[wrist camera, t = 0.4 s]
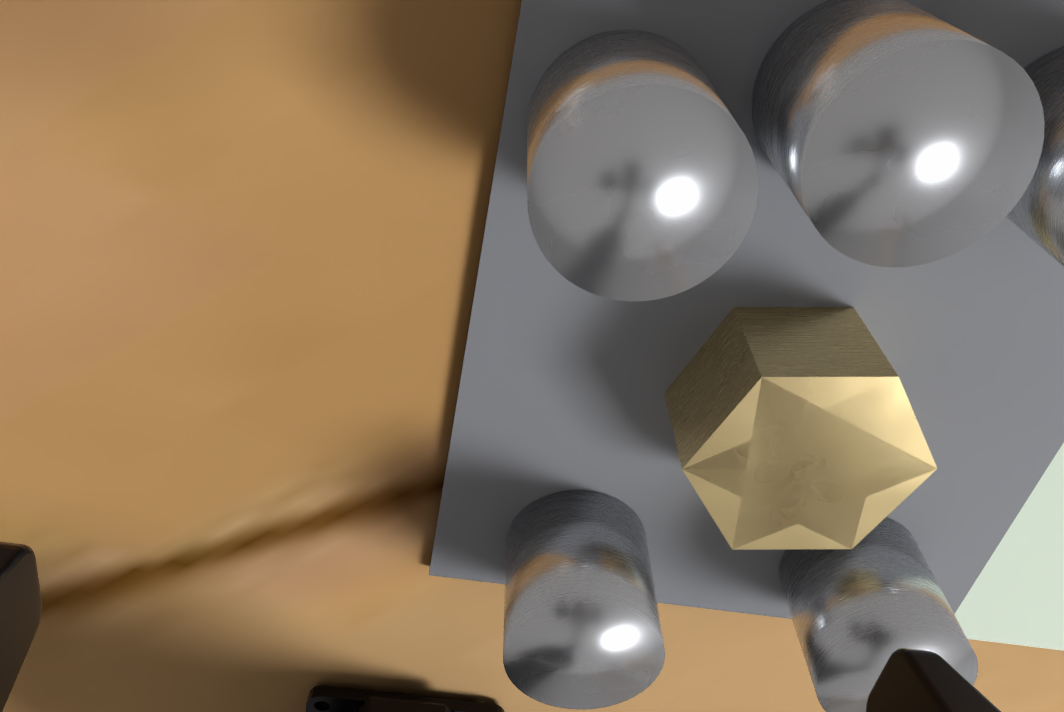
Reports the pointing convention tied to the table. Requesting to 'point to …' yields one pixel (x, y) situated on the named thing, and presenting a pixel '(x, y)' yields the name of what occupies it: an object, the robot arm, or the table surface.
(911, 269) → the mat
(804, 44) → the spacers
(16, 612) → the robot arm
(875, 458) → the faceted tan block
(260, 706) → the table surface
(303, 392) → the table surface
